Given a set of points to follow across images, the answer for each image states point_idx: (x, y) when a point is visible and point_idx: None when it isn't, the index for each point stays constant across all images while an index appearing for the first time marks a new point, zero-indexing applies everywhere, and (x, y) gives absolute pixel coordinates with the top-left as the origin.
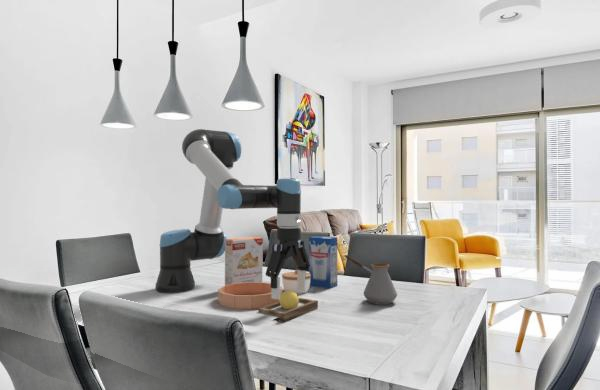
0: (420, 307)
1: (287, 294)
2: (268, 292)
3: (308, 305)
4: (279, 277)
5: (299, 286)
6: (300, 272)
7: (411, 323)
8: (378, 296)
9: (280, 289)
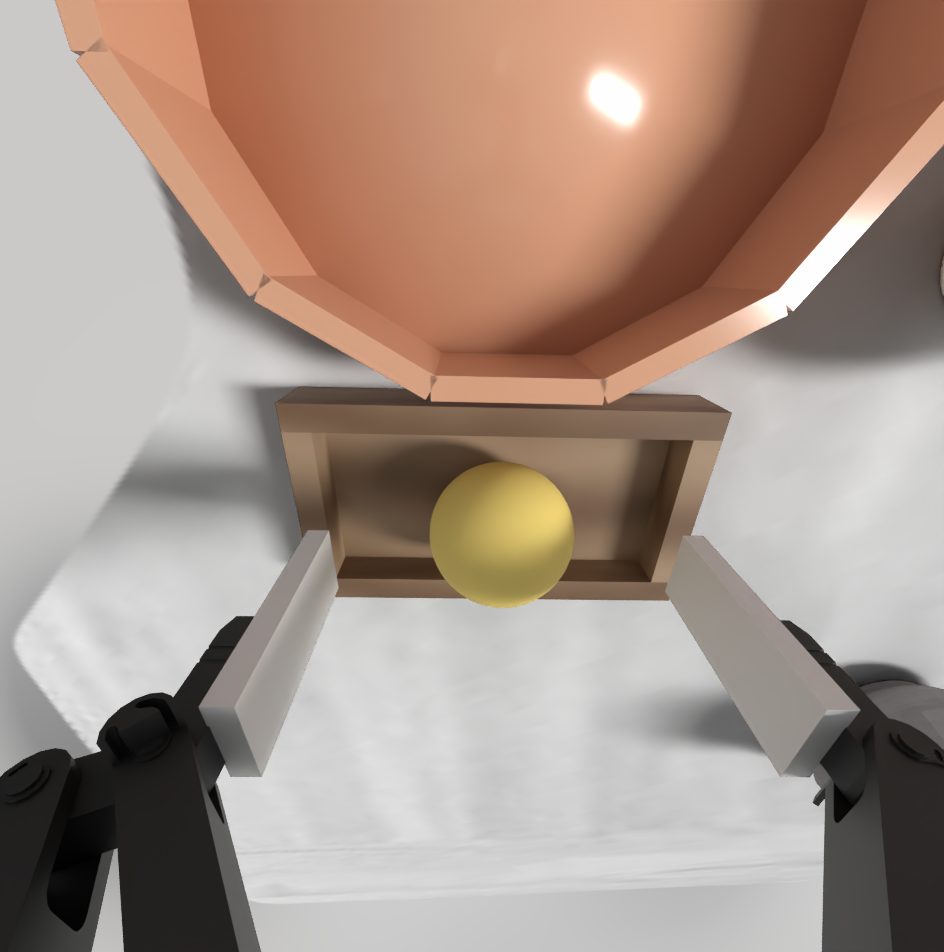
0: (802, 809)
1: (457, 582)
2: (884, 8)
3: (560, 595)
4: (255, 775)
5: (693, 576)
6: (785, 717)
7: (594, 828)
8: (821, 775)
9: (687, 362)
